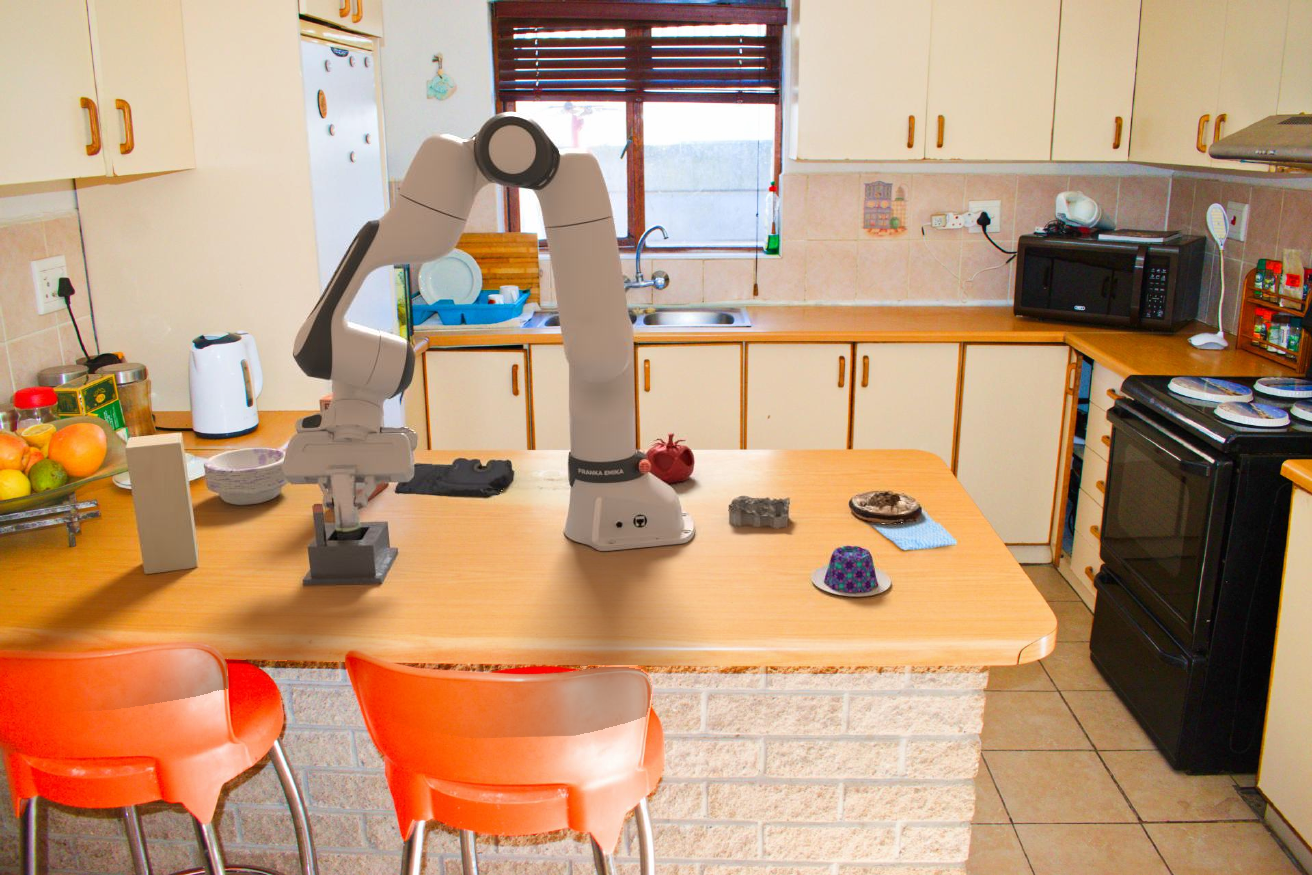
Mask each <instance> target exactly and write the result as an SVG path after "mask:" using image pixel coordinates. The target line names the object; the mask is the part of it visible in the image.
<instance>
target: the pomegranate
mask: <svg viewBox="0 0 1312 875" xmlns="http://www.w3.org/2000/svg"><path fill="white" fill-rule="evenodd" d="M667 436H668V440H667V442H666V441H665V440H663V439H662V438H657V439H655V440H653V442H655V441H660V442H656V443H654V444H652V445H651V447H650V449H648V450H647V451H646V452H645V453H646V455H647V456H648V460H649V461H650V463H651V468H650V469H651V470H650V471H649V472H650V473H651V474H653V475H654V476H656V477H657V478H659V479H660V480H662V481H663V482H665V483H666V484H673V483H680V482H684V481H686V480H688V479H689V478H690V477H691V476H692V474H693V473H694V469H695V463H696V462H695V455H694V453H693V451H692V449H691V448H690V447H688V446H686V445H682V444H679V443H680V442H686V439H677V440H676V441H674V436H675V433H673V432H670V433H668V434H667ZM673 441H674V442H673Z"/></svg>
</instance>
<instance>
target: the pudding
mask: <svg viewBox="0 0 1312 875" xmlns="http://www.w3.org/2000/svg"><path fill="white" fill-rule="evenodd" d="M873 559H874V558H873V556H872V554H871V552H870V550H868V549H866V548H863V547H861V546H857V545H853V546H852V545H843V546H841V547H839V546H838V547H836V548H835V549H834V550H833V552H832V554H831V556H830V560H829V562H828V564H826V565H823V566H820V567H818V568H816V569H815V570H814V571H813V572H812V573H811V575H810V580H811V581H812V583H813V584H814V585H815V586H816V587H817V588H819V589H821V590H823V591H825V592H828V593H831V594H834V595H839V596H846V597H869V596H874V595H877V594H880V593H883V592H885V591H886V590H888V589H889V588H890V586H891V585H892V580H891V578H890V576H889V575H888V574H887V573H885V572H884V571H882V570H880V569H879V568H876V567H875V564H874V560H873ZM828 586H829V587H828ZM872 589H873V590H872Z"/></svg>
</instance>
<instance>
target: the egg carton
mask: <svg viewBox="0 0 1312 875" xmlns="http://www.w3.org/2000/svg"><path fill="white" fill-rule="evenodd" d="M790 505H791V500H790V497H786V498H777V499H776V498H773V499H771V498H770V497H768V496H767V497H763V498H762V497H750V496H747V495H741V496H737V497H735V498H733V499H732V500H731V503H730V504H728V523H729V524H730V525H731V524H732V525H734V526H736V527H742V526H744V525H750V526H753V527H754V528H761V527H764V526H769V527H772V528H773V529H781V528H783V527H785V528H786V527H787V526H788V520H789V519H790ZM760 514H761V515H760ZM777 515H779V516H777Z"/></svg>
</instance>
